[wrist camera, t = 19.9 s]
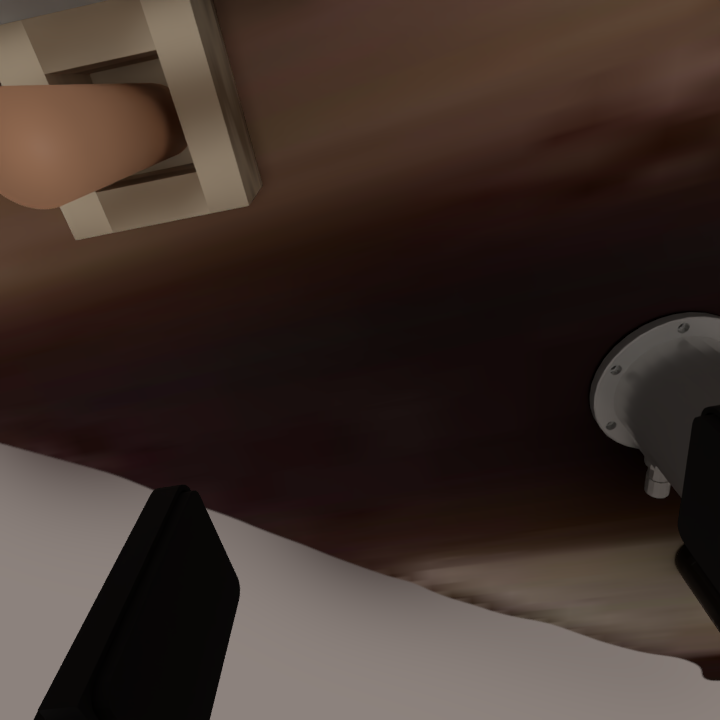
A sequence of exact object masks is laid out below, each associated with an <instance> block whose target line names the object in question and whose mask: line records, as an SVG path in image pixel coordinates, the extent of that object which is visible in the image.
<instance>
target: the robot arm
mask: <svg viewBox="0 0 720 720" xmlns="http://www.w3.org/2000/svg"><path fill="white" fill-rule="evenodd" d="M590 408H591V411H592V414H593V417H594V419H595V420H596V422H597V423H598V425H599V426H600V428H601V429H602V430H603V431H604V433H605V434H606V435H607V436H608V437H610V438H611V439H613V440H614V441H616V442H617V443H620V444H622V445H625V446H627V447H632V448H638V449H640V451H641V452H642V453H643V455H644V462H645V464H646V466H648V470H647V471H646V478H645V485H644V490H645V491H646V493H647V494H648V495H650V496H652V497H655V498H665V497H667V496H668V495H669V493H670V487H671V485H672V487H673V488H674V489H675V490H676V492H677V493H678V494H679V495H680V497H681V504H680V511H679V518H678V529H679V533H680V536H681V538H682V540H683V542H684V544H685V545H686V547H687V548H688V550H689V551H690V552H691V554H692V555H693V557H694V558H695V560H696V561H697V562H698V564H699V565H700V567H701V568H702V570H703V571H704V572H705V574H706V575H707V577H708V578H709V580H710V581H711V582H712V584H713V585H714V587H715V588H716V590H717V591H718V592H719V594H720V316H717V315H713V314H709V313H700V312H687V313H680V314H673V315H670V316H666V317H663V318H660V319H657V320H655V321H652V322H650V323H648V324H646V325H644V326H642V327H640V328H639V329H637V330H635V331H634V332H632V333H631V334H629V335H628V336H626V337H625V338H624V339H623V340H622V341H621V342H619V343H618V344H617V345H616V346H615V347H614V348H613V349H612V350H611V351H610V352H609V354H608V355H607V356H606V357H605V358H604V360H603V361H602V363H601V365H600V366H599V368H598V369H597V371H596V374H595V376H594V379H593V381H592V384H591V390H590ZM239 596H240V585H239V580H238V577H237V575H236V573H235V571H234V569H233V567H232V564H231V562H230V560H229V558H228V556H227V554H226V551H225V549H224V547H223V545H222V543H221V541H220V538H219V536H218V534H217V532H216V530H215V528H214V525H213V523H212V521H211V519H210V517H209V514H208V512H207V510H206V508H205V506H204V504H203V501H202V499H201V497H200V495H199V493H198V492H197V491H191V490H190V489H189V487H188V486H186V485H177V486H171V487H164V488H157V489H155V490H154V491H153V492H152V494H151V495H150V497H149V499H148V501H147V503H146V505H145V507H144V508H143V510H142V512H141V514H140V516H139V518H138V520H137V522H136V524H135V526H134V528H133V529H132V531H131V534H130V535H129V537H128V539H127V541H126V543H125V545H124V547H123V549H122V550H121V552H120V554H119V556H118V558H117V560H116V562H115V564H114V566H113V568H112V570H111V571H110V574H109V576H108V577H107V579H106V581H105V583H104V585H103V587H102V589H101V591H100V592H99V594H98V596H97V598H96V600H95V602H94V604H93V606H92V608H91V610H90V612H89V613H88V616H87V617H86V619H85V621H84V623H83V625H82V627H81V629H80V631H79V633H78V634H77V636H76V638H75V640H74V642H73V644H72V646H71V648H70V650H69V652H68V654H67V656H66V658H65V659H64V661H63V663H62V665H61V667H60V669H59V671H58V673H57V675H56V677H55V678H54V680H53V682H52V684H51V686H50V688H49V690H48V692H47V694H46V696H45V698H44V699H43V701H42V703H41V705H40V707H39V709H38V712H37V714H36V716H35V718H34V720H210V716H211V712H212V708H213V704H214V699H215V696H216V691H217V687H218V683H219V679H220V675H221V671H222V667H223V662H224V659H225V655H226V651H227V647H228V642H229V638H230V634H231V630H232V626H233V622H234V617H235V614H236V610H237V605H238V601H239Z"/></svg>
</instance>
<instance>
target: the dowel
mask: <svg viewBox="0 0 720 720" xmlns="http://www.w3.org/2000/svg"><path fill="white" fill-rule="evenodd" d="M187 146H188V145H187V142H186V139H185V135H184V132H183V129H182V126H181V123H180V120H179V117H178V114H177V111H176V108H175V105H174V102H173V99H172V96H171V93H170V90H169V87H167V86H164V85H161V84H157V83H124V84H71V85H19V86H0V194H1V195H3V196H4V197H6V198H8V199H9V200H11V201H13V202H15V203H17V204H20V205H22V206H25V207H29V208H34V209H53V208H57V207H60V206H63V205H65V204H67V203H69V202H72V201H74V200H76V199H78V198H81V197H83V196H85V195H87V194H90V193H92V192H94V191H97V190H99V189H101V188H103V187H106V186H108V185H110V184H112V183H115V182H117V181H119V180H121V179H124V178H126V177H128V176H130V175H133V174H135V173H137V172H139V171H142V170H144V169H146V168H149V167H151V166H153V165H155V164H158V163H160V162H162V161H164V160H167V159H169V158H171V157H173V156H176V155H178V154H180V153H181V152H182V151H183V150H185V148H186V147H187Z"/></svg>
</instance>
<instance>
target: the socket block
mask: <svg viewBox="0 0 720 720" xmlns="http://www.w3.org/2000/svg"><path fill="white" fill-rule="evenodd" d="M0 82H1V84H2V86H19V85H71V84H124V83H157V84H161V85H164V86H167V87H169V90H170V93H171V96H172V99H173V102H174V105H175V108H176V111H177V114H178V117H179V120H180V123H181V126H182V129H183V132H184V135H185V139H186V142H187V145H188V146H187V147H186V148H185V150H183V151H182V152H181V153H180V154H178V155H176V156H173V157H171V158H169V159H167V160H164V161H162V162H160V163H158V164H155V165H153V166H151V167H149V168H146V169H144V170H142V171H139V172H137V173H135V174H133V175H130V176H128V177H126V178H124V179H121V180H119V181H117V182H115V183H112V184H110V185H108V186H106V187H103V188H101V189H99V190H97V191H94V192H92V193H90V194H87V195H85V196H83V197H81V198H78V199H76V200H74V201H72V202H69V203H67V204H65V205H63V206H60V208H61V210H62V212H63V215H64V217H65V219H66V221H67V223H68V225H69V227H70V229H71V231H72V233H73V236H74V238H75V240H79V239H84V238H89V237H94V236H99V235H105V234H110V233H115V232H120V231H125V230H130V229H135V228H140V227H145V226H150V225H155V224H160V223H165V222H170V221H175V220H180V219H185V218H190V217H195V216H200V215H205V214H210V213H215V212H220V211H225V210H230V209H235V208H240V207H245V206H249V205H250V204H251V202H252V201H253V199H254V198H255V196H256V195H257V193H258V192H259V190H260V189H261V187H262V186H263V184H262V180H261V177H260V173H259V169H258V166H257V162H256V158H255V155H254V151H253V147H252V143H251V140H250V136H249V132H248V129H247V125H246V121H245V118H244V114H243V110H242V107H241V103H240V99H239V96H238V92H237V88H236V84H235V81H234V77H233V73H232V70H231V66H230V62H229V59H228V55H227V51H226V48H225V44H224V40H223V37H222V33H221V29H220V25H219V22H218V18H217V14H216V11H215V7H214V3H213V0H107V1H102V2H98V3H93V4H89V5H85V6H80V7H76V8H71V9H67V10H63V11H58V12H54V13H50V14H45V15H41V16H36V17H32V18H28V19H23V20H19V21H14V22H10V23H6V24H1V25H0Z"/></svg>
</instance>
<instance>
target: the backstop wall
mask: <svg viewBox="0 0 720 720" xmlns="http://www.w3.org/2000/svg"><path fill="white" fill-rule="evenodd" d="M102 1H107V0H0V25H1V24H6V23H10V22H14V21H19V20H23V19H28V18H32V17H36V16H41V15H45V14H50V13H54V12H58V11H63V10H67V9H71V8H76V7H80V6H85V5H89V4H93V3H98V2H102Z"/></svg>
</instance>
